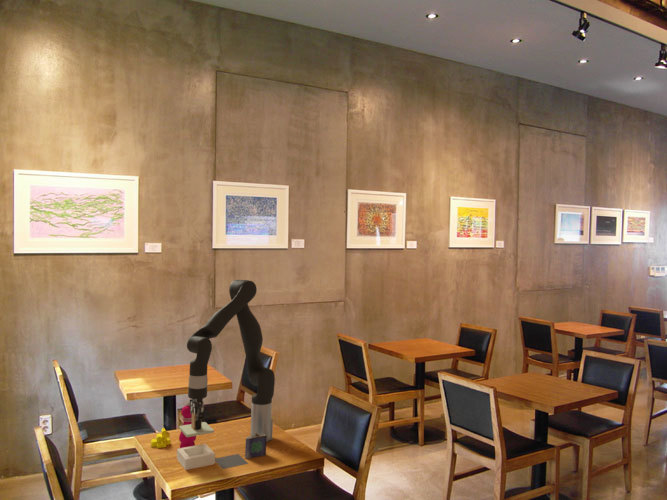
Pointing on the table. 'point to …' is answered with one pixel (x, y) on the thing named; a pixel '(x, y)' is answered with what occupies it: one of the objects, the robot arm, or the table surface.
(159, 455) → the table surface
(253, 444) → the flask
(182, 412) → the pepper mill
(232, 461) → the mat
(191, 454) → the dish
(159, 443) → the yellow lumpy cluster
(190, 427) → the lid
